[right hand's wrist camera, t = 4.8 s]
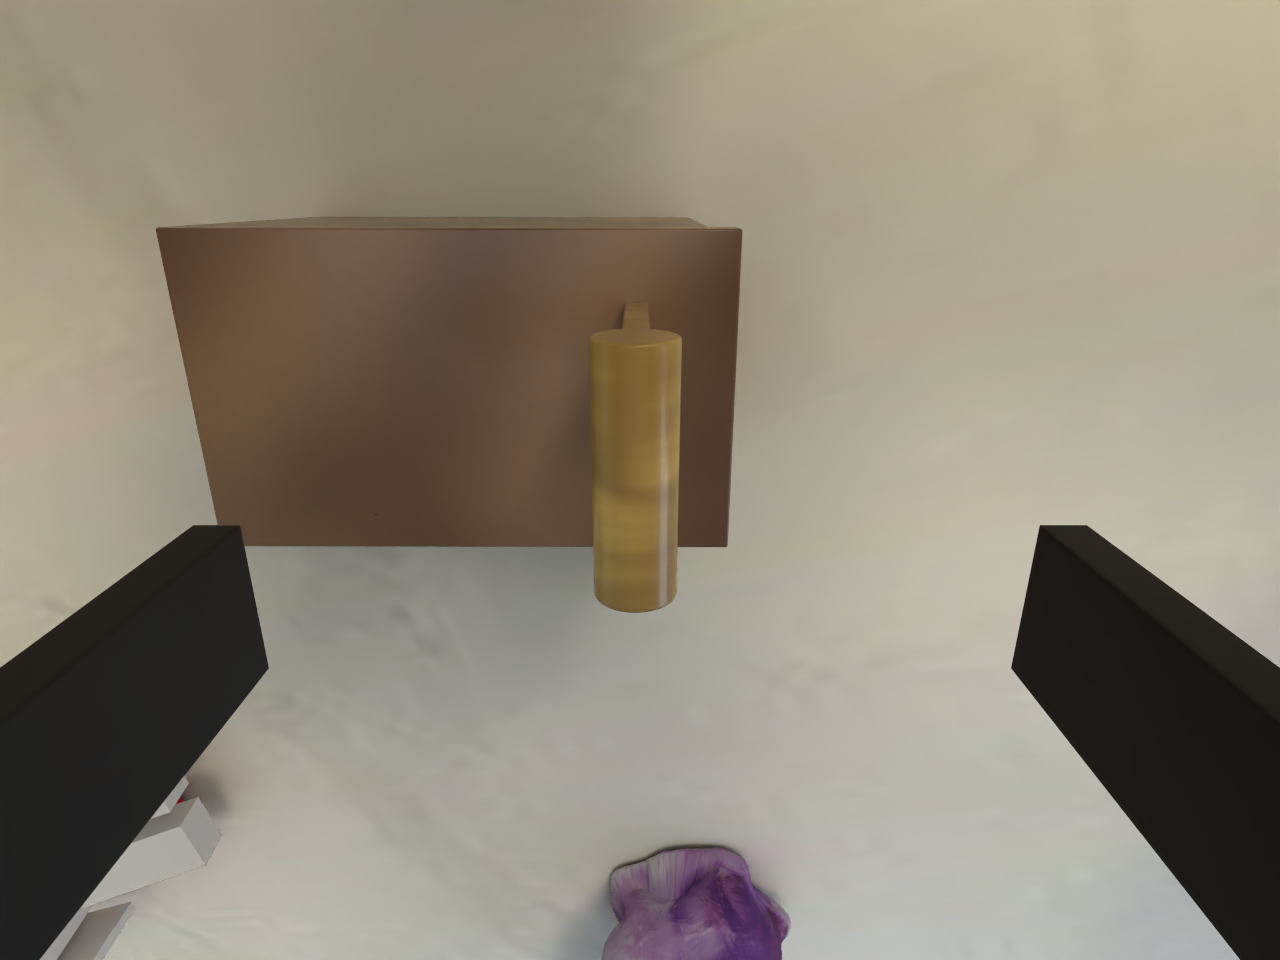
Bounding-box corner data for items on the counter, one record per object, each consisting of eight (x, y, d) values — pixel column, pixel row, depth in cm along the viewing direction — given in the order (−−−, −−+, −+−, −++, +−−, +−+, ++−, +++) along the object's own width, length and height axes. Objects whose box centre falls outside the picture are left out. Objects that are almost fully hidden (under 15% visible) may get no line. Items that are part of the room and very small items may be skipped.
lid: (737, 227, 23) (792, 244, 15) (724, 533, 27) (761, 684, 18) (177, 226, 23) (-81, 242, 15) (238, 532, 27) (58, 683, 18)
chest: (689, 218, 33) (710, 227, 23) (684, 442, 37) (700, 532, 27) (315, 217, 33) (178, 225, 23) (346, 441, 37) (239, 531, 27)
